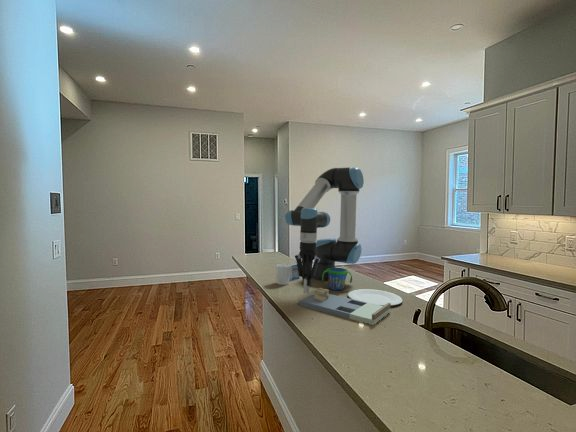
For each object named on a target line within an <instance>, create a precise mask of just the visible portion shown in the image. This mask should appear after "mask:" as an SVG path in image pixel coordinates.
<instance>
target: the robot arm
mask: <svg viewBox="0 0 576 432" xmlns="http://www.w3.org/2000/svg"><path fill="white" fill-rule="evenodd" d="M363 174H364V173H363V171H362V170H361V169H360V168H359V167H352V166H349V167H333V168H330V169H327V170H326V171H324V172H322V173H321V174H320V175H319V176H318V177H317V178H316V180H315V181H314V185H313V186H312V188H311V189H310V190H309V191H308V192H307V194H306V195H305V196H304V197H303V199H301V201H299V204H298V205H297V206H296V207H295V209H294V210H292V209H291V210H288V211H286V213H285V217H284V220H285V223H286V224H287V225H290V226H293V227H294V226H295V227H300V231H299V234H300V236H299V241H300V242H299V252H298V254H296V255H294V257H295V261H296V263H297V267H298V273H299V276H300V277H301V279H302V283H301V284H302V286H303V291H302V292H303V294H308V293H310V286H312V280H313V279H315V280H320V281H322V274H323V272H324V271H325V270H327V269H328V268H336V262H337V263H343V264H352V265H355V264H356V263H358V261H359V259H361V254H362V244H360V243H358V242H359V240H358V238H357V237H356V225H357V224H356V220H357V195H358V194H359V193H360V189H362V188H363V187H364V181H365V180H364V175H363ZM332 189H338V192H339V194H340V219H339V237H338V238H337V239H336V238H322V239H321V238H320V239H318V240H317V236H318V235H317V232H318V230H317V229H319V228H320V229H321V228H326V227H328V226H329V224H330V223H331V216H330V215H329V213H328V212H326V211H318V209H317V208H316V206H317V205H318V203H319V202H320V201H321V199H322V198H323V197H324V195H326V193H328V192H329V191H330V190H332ZM323 281H329V279H328V272H325V273H324V278H323Z"/></svg>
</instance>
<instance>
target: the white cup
mask: <svg viewBox="0 0 576 432" xmlns="http://www.w3.org/2000/svg"><path fill="white" fill-rule="evenodd" d="M289 264H290V263H289ZM289 264H287V263H279V264H276V265H275V270H276V271H275V273H276V275H275V276H276V284H277V285H278V286H279V285H281V286H286V285H289V284H290V280H289V278H290V267H291V265H289Z"/></svg>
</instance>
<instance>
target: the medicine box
mask: <svg viewBox="0 0 576 432" xmlns="http://www.w3.org/2000/svg"><path fill="white" fill-rule="evenodd" d="M289 265H291V267H290V278H289V281H291V280H292V281H295V280H297V278H298V279H300V277H301V276H299V273H298V267H297V262H292V263H289ZM294 279H295V280H294Z"/></svg>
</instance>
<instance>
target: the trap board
mask: <svg viewBox="0 0 576 432" xmlns="http://www.w3.org/2000/svg"><path fill="white" fill-rule="evenodd" d="M314 297H315V293H314V294H312V295H309V296H307V297H304V298H303V299H299V300H298V306H300V307H304V308H306V309H312V310H315V311H318V312H319V311H320V312H323V313H327V314H330V315H334V316H338V317H342V318H345V319H349V320H351V321H352V320H353V321H355V322H360V323H363V322H364V323H363V324H367V323H369V324H368V325H371V324H373V325H372V326H375V325H377V324H378V323H379V322H380V321H382V320H383V319H384V318H385V317H387V316H388V315H389V314H390V313H391V308H392V306H391V303H387V304H386V305H384V306H380V305H376V304H371V303H367V302H363V301H358V300H354V299H351V298H349V297H344V296H341V295H335V294H331V293H328V299H327V300H324V301H321V300H317V299H314ZM388 313H389V314H388ZM387 314H388V315H387ZM386 315H387V316H386ZM384 316H385V317H384ZM383 317H384V318H383ZM382 318H383V319H382ZM381 319H382V320H381ZM379 320H380V321H379ZM378 321H379V322H378ZM377 322H378V323H377ZM376 323H377V324H376ZM374 324H375V325H374Z"/></svg>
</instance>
